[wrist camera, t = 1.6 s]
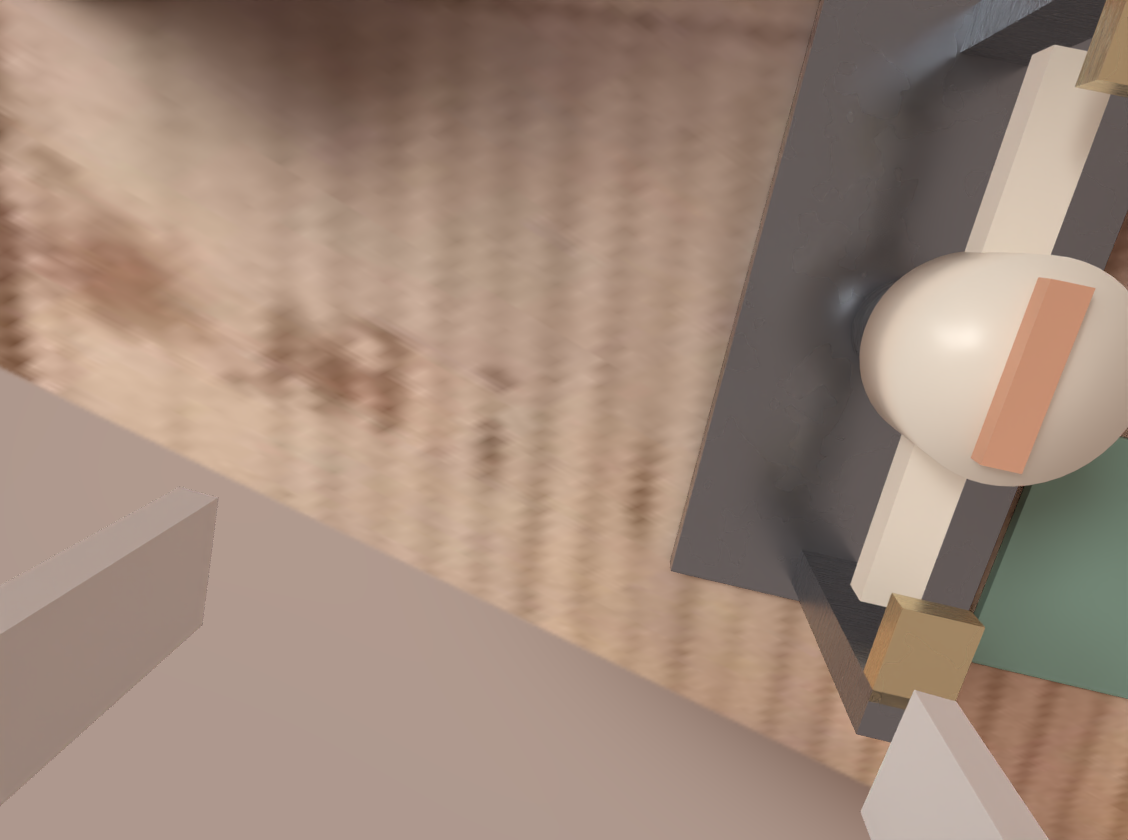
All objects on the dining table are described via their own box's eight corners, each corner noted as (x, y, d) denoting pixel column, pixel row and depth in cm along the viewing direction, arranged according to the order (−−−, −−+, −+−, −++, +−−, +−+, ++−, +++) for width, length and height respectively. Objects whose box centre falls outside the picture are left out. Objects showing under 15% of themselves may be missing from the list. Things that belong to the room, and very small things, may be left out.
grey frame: (830, -39, 34) (954, -216, 20) (1182, 29, 33) (1549, -109, 20) (669, 561, 42) (683, 715, 29) (949, 626, 41) (1096, 815, 28)
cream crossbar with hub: (956, 39, 27) (1038, -11, 21) (1175, 82, 27) (1318, 42, 21) (788, 570, 33) (818, 639, 27) (966, 611, 32) (1034, 690, 27)
